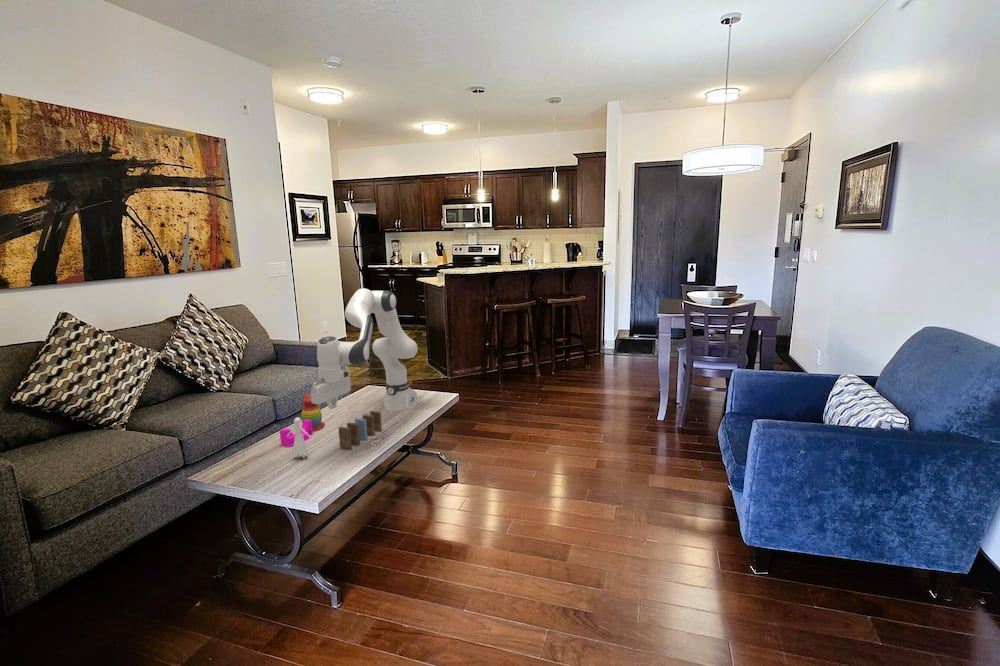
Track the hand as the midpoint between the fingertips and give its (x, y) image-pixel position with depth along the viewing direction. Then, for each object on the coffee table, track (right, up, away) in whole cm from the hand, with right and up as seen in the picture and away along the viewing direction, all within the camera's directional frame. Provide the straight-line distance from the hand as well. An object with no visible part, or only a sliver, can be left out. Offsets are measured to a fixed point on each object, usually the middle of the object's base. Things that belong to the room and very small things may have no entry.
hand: (332, 407), depth 200 cm
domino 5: (+11, -16, +29) cm, 35 cm away
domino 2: (+5, -19, +14) cm, 24 cm away
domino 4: (+9, -17, +24) cm, 31 cm away
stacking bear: (-22, -16, +34) cm, 43 cm away
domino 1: (+3, -20, +9) cm, 22 cm away
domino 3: (+7, -18, +19) cm, 27 cm away
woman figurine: (-14, -22, +1) cm, 26 cm away
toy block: (-23, -19, +20) cm, 35 cm away
